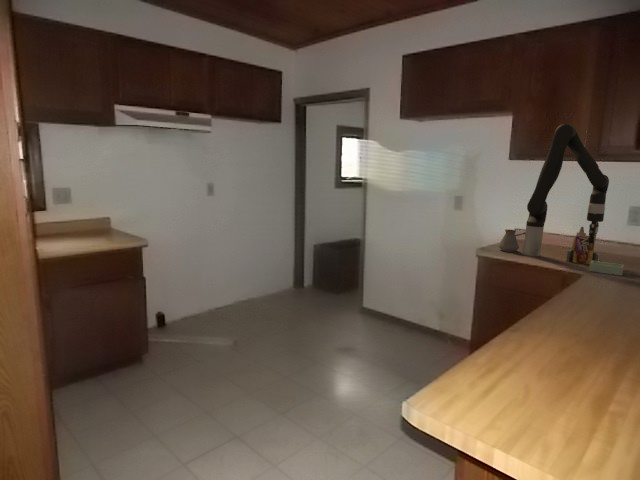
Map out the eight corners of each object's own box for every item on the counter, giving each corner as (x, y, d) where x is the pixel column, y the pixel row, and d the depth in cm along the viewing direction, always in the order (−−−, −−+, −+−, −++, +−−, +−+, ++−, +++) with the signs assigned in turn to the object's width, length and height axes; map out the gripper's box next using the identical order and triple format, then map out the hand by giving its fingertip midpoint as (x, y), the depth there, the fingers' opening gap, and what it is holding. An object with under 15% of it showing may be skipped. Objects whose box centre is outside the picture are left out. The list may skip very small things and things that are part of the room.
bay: (566, 261, 236) (567, 251, 235) (568, 259, 242) (569, 249, 241) (596, 266, 227) (598, 255, 226) (598, 263, 233) (600, 252, 232)
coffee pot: (497, 251, 260) (499, 226, 257) (499, 248, 270) (501, 224, 267) (536, 255, 250) (539, 230, 247) (536, 252, 260) (539, 228, 257)
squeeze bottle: (581, 256, 253) (586, 226, 250) (588, 258, 245) (593, 228, 242) (567, 255, 254) (571, 225, 251) (574, 258, 246) (578, 227, 243)
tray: (588, 270, 216) (589, 263, 215) (590, 267, 222) (591, 260, 222) (621, 275, 208) (622, 267, 207) (622, 272, 214) (623, 264, 214)
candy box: (591, 263, 233) (596, 236, 230) (591, 264, 230) (595, 237, 227) (573, 261, 238) (577, 234, 235) (572, 262, 235) (576, 235, 232)
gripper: (589, 210, 235) (585, 239, 238) (586, 212, 224) (582, 242, 227) (605, 211, 230) (601, 241, 233) (603, 213, 219) (598, 244, 222)
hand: (591, 242), depth 230 cm, fingers open, 8 cm apart
